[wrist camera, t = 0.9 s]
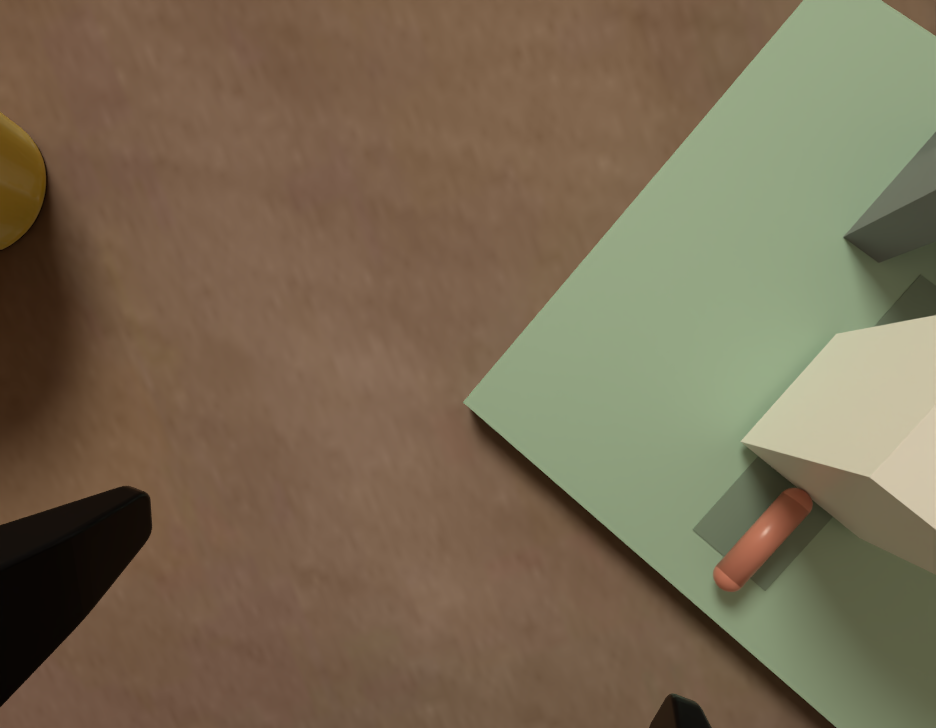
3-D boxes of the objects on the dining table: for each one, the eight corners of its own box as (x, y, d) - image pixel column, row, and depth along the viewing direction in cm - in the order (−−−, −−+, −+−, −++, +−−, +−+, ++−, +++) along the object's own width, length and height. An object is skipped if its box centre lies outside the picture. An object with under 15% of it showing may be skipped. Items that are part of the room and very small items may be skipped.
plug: (772, 632, 19) (957, 831, 11) (658, 533, 20) (743, 645, 11) (960, 427, 19) (1317, 462, 10) (836, 333, 20) (1069, 289, 11)
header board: (925, 798, 20) (973, 850, 18) (468, 401, 23) (459, 402, 21) (1350, 355, 19) (1460, 351, 17) (811, -4, 22) (842, -50, 20)
